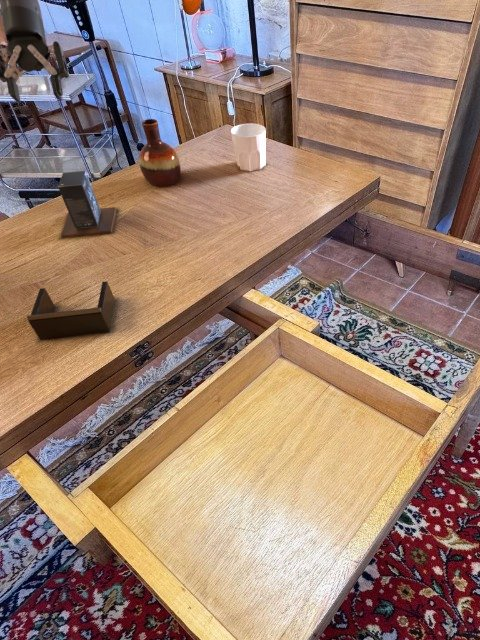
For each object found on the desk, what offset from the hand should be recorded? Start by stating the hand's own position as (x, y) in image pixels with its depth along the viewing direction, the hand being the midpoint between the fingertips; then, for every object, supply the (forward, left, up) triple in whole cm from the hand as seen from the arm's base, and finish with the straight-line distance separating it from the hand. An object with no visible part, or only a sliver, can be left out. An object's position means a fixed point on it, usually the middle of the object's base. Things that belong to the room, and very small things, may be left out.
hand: (36, 98), depth 95 cm
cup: (+46, +21, -27) cm, 57 cm away
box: (+2, -4, -26) cm, 26 cm away
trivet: (+2, -5, -27) cm, 27 cm away
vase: (+20, +16, -27) cm, 37 cm away
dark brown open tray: (+5, -43, -27) cm, 51 cm away
